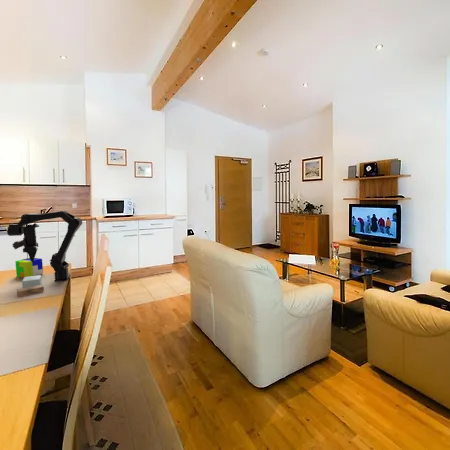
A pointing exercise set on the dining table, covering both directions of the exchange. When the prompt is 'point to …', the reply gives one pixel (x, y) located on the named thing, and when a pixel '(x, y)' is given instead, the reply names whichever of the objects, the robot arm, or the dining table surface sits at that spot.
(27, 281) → the block
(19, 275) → the puzzle toy
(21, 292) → the board
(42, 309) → the dining table surface
